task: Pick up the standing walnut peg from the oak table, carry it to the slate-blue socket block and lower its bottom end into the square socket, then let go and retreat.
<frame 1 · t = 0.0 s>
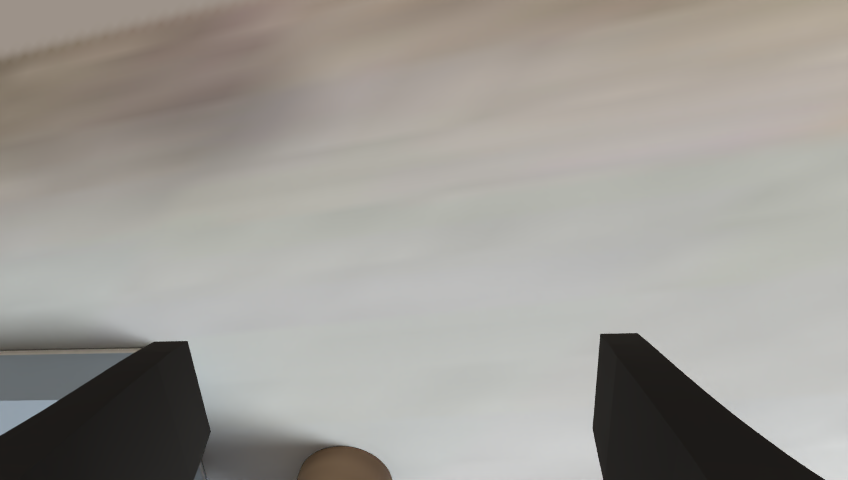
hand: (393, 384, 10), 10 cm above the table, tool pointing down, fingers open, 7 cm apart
socket block: (67, 466, 26), on the table
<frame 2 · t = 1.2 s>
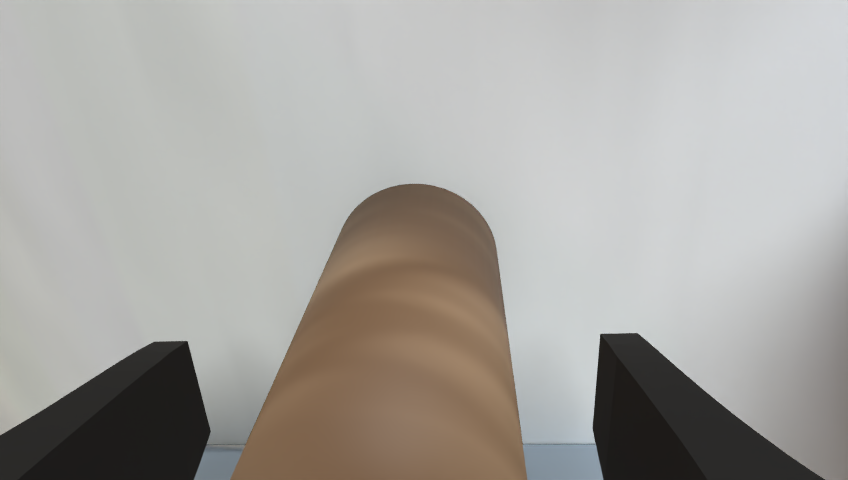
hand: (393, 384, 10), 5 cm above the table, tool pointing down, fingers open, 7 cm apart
peg: (416, 259, 15), on the table
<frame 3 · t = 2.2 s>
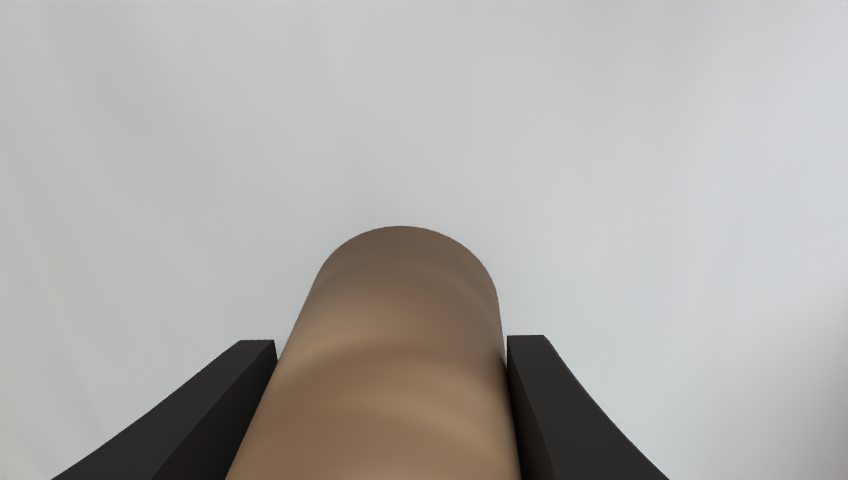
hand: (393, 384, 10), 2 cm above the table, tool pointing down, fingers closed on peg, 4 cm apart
peg: (404, 312, 13), on the table, touching gripper
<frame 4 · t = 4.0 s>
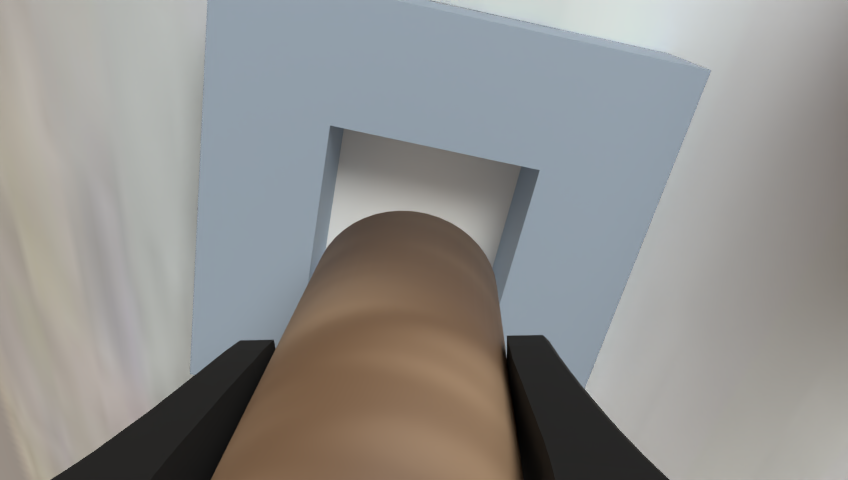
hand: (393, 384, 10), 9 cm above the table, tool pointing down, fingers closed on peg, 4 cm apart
peg: (405, 296, 13), point 7 cm above the table, touching gripper
socket block: (420, 203, 19), on the table
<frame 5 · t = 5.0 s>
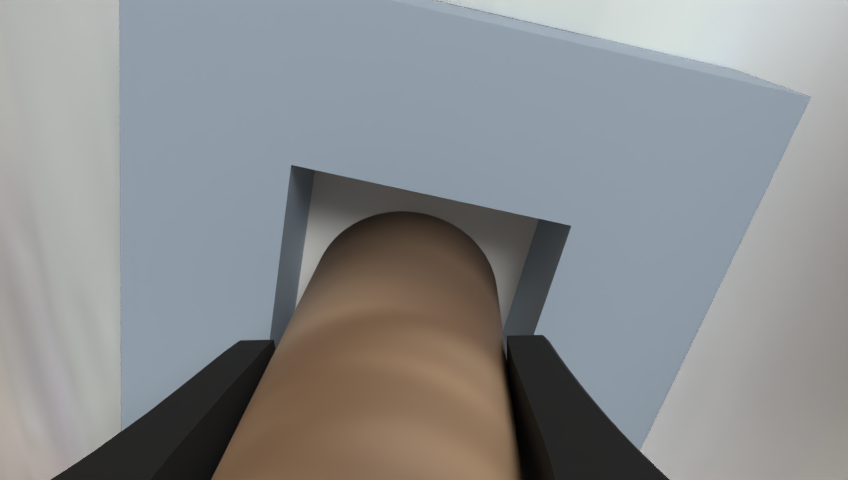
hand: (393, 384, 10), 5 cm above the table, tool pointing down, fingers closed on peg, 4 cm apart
peg: (405, 297, 13), point 2 cm above the table, touching gripper
socket block: (413, 253, 15), on the table
when the fingers open (4 cm above the table, at t = 5.8 s): peg stays where it is, resting on socket block.
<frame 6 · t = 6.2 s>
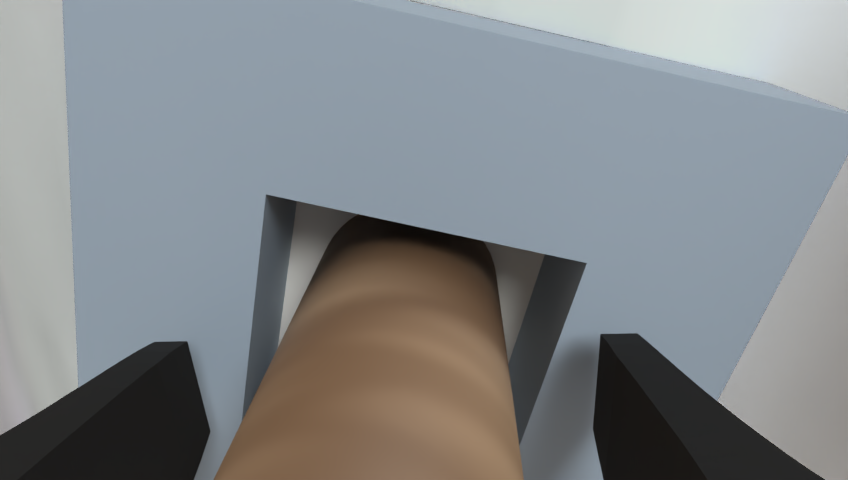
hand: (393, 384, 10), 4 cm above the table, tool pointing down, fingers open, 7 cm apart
peg: (407, 284, 13), resting on socket block
socket block: (408, 283, 14), on the table
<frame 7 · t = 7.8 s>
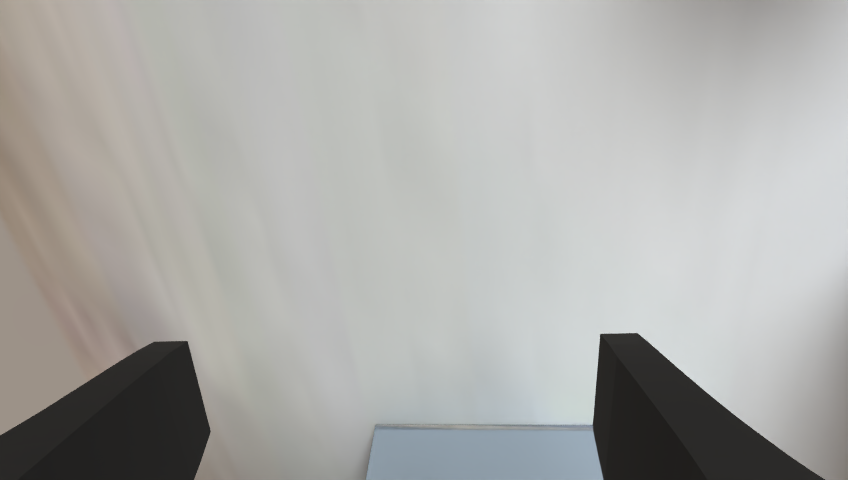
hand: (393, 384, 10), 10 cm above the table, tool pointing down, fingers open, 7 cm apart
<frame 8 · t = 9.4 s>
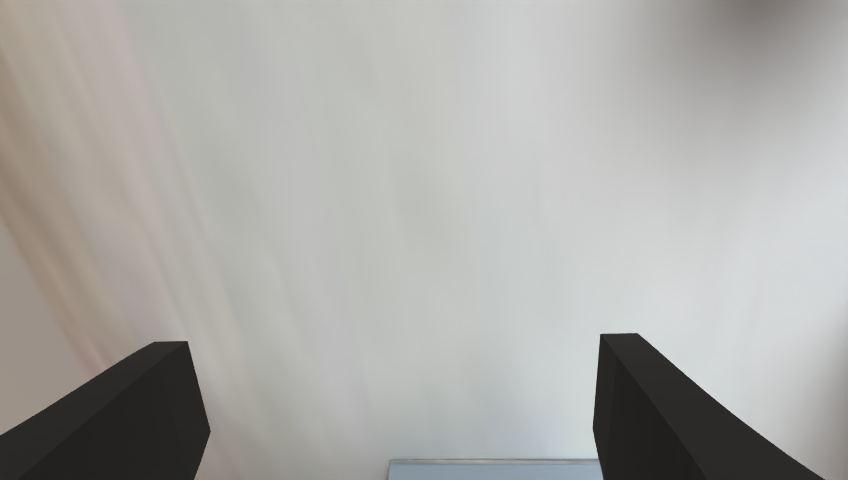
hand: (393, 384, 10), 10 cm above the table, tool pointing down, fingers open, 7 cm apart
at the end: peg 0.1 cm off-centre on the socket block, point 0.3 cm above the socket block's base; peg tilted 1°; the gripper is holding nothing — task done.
